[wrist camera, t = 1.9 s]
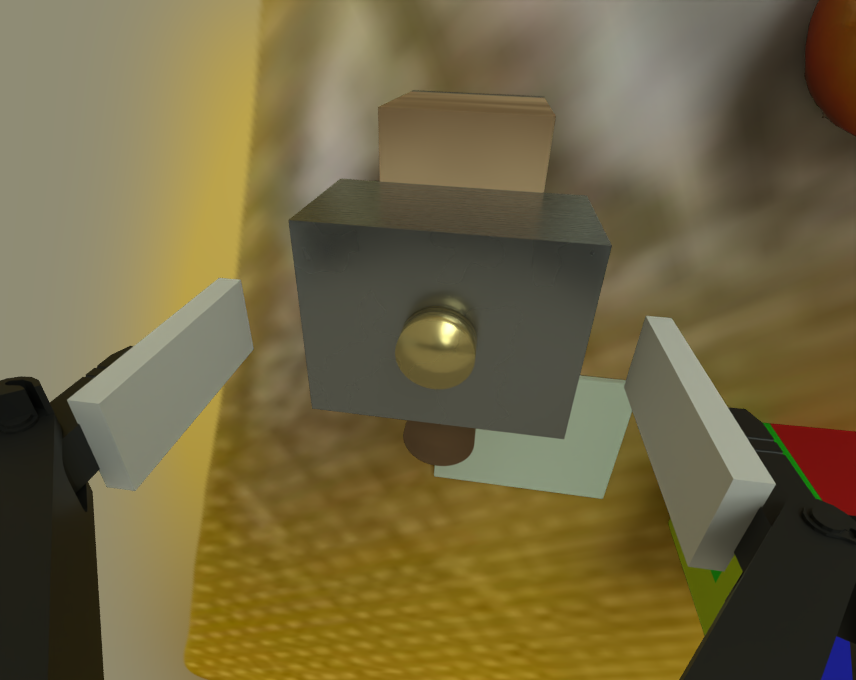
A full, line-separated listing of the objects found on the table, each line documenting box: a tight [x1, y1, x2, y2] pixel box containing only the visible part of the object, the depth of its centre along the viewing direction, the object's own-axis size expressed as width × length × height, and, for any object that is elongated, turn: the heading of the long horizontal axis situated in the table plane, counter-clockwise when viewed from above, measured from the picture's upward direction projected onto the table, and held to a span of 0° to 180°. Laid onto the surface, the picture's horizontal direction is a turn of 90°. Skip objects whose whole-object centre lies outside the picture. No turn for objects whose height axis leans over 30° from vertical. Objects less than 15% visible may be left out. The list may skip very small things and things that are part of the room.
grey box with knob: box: [289, 179, 612, 439], centre depth 17 cm, size 9×7×6 cm
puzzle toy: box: [668, 423, 856, 680], centre depth 27 cm, size 10×10×10 cm
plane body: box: [378, 90, 556, 466], centre depth 22 cm, size 14×6×10 cm, turn 178°
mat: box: [434, 375, 632, 499], centre depth 32 cm, size 12×10×1 cm
